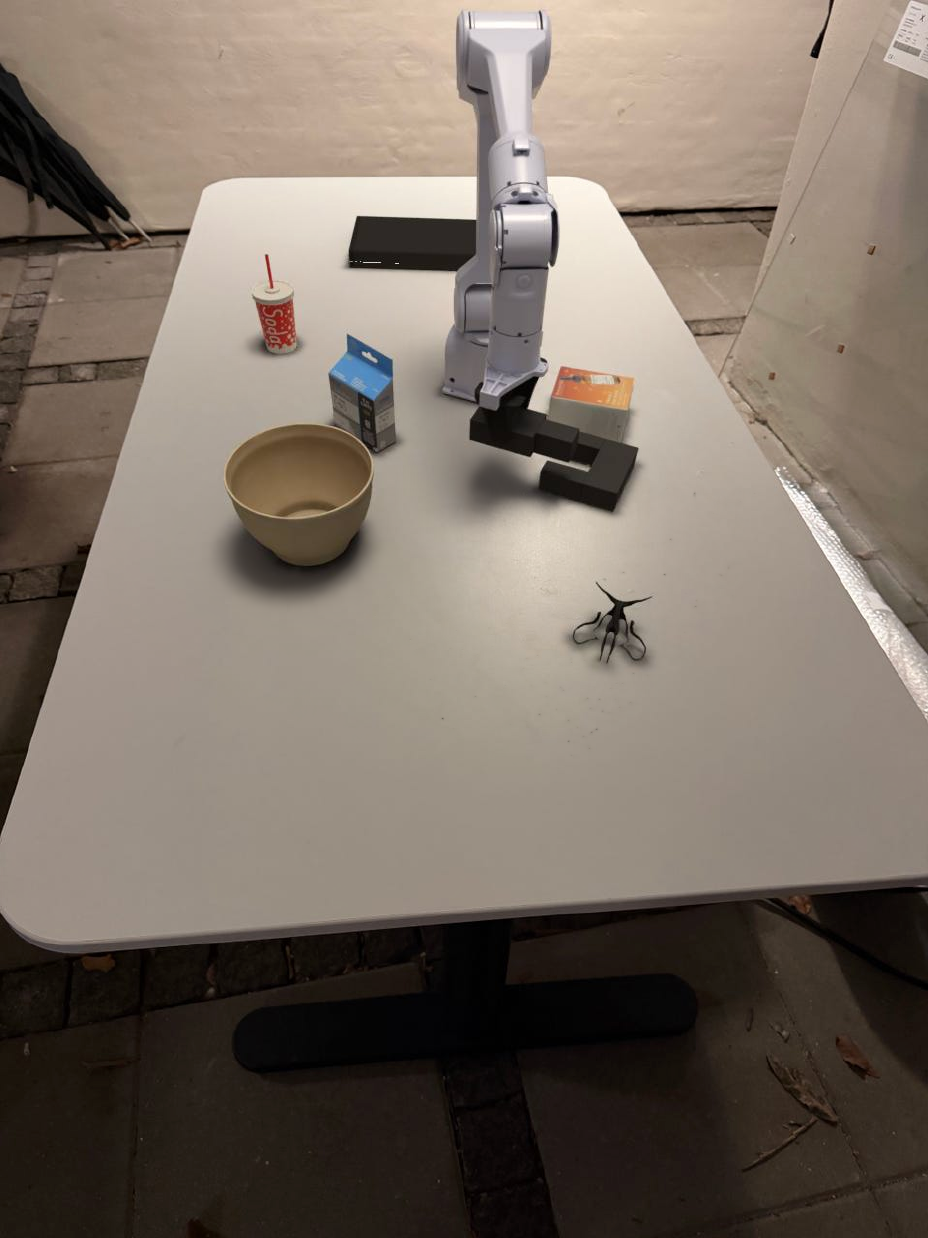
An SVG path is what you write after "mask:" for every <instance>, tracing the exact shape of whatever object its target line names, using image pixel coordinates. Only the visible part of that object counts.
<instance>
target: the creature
mask: <svg viewBox="0 0 928 1238" xmlns="http://www.w3.org/2000/svg"><path fill="white" fill-rule="evenodd" d="M595 584H596V585H597V588H598V589H600V591H601V592H602V593H603V594H605V595H606V596H607V598H608V599H609V601H610V602H611V603H612V604H613V607H612V608H611V609H610V610H608V611H607V612H606V613H605V614H604V615H603V616H602V611H597V613H596V616H595V618H594V619H593V620H592V621H586V622H584V623H581V624H579V625H578V626H576V628H575V629H574V630H573V633H572V639H573V641H574V643H575V644H577V645H582V644H585V643H587V642H590V641H595V640H600V639H599V638H598V637H597V636H596V635H594V636H595V637H594V638H589V639H585V640H584V641H582V642H578V641H577V640H576V637H575V635H576V631H577V630H579V629H581V628H583V627H584V626H591V625H594V624H597V622H598V621H599V623H598V624H597V626H596V627H594V628H593V630H596V629H598V628H600V626H601V625H602V623H603V621H604V619H605V618H606V617H607V616H610V617H611V618H610V620H609V622H608V623H607V625H606V626H605V634H604V636H603V640H602V642H601V645H600V655H599V656H600V657H599V662H602V657H603V653H604V650H605V648H606V647H605V646H606V644H607V639H608V636H609V634H611V633H612V634H613V638H612V641H611V643H610V649H609V652H608V655H607V658H606V664H608V663H609V659H610V657H611V655H612V654H613V651H614V649H615V645H616V640H617V636H618V635H619V633H620V620H623V621H624V622H625V636H626V637H627V639H628V640H627V641H626V642H625V643H622V644H619V646H620V647H622V648H623V649H624V650H626V652H627V653H628V654H629V656H630V657H631V659H633V660H634V661H639V660H641V659H642V658H644V656H645V655H646V652H647V646H646V645H645V643H644V641H643V639H642V638H641V636H639V635H637V633H636V632H635V631H634V625H635V621H634V620H633V619H631V620H630V623H628V620H627V616H626V614H625V608H629V607H631V606H633V605H635V604H637V603H638V604H639V603H643V602H645V601H647V600H651V599H652V598H653V595H651V596H648V597H646V598H645V597H644V598H642V599H634V600H627V601H625V600H621V599H618V598H616V597H615V596H613V595H612V594H611V593H610V592H608V591H607V590H605V589H604V588H603V587H602V586H601V585H600V584H599V582H598V581H595ZM601 616H602V617H601ZM600 618H601V619H600ZM629 633H630V634H631V636H633V637H634V638H635V639H637V640H638V641H639V642H640V643H641V645H642V646H643V648H644V649H643V654H642V656H641V657H639V658H635V657H633V655H632V654H631V652H630V651H629V650H628V649H627V648H626V647H625V646H624V645H625V644H627V643H628V641H630V637H629Z"/></svg>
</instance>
